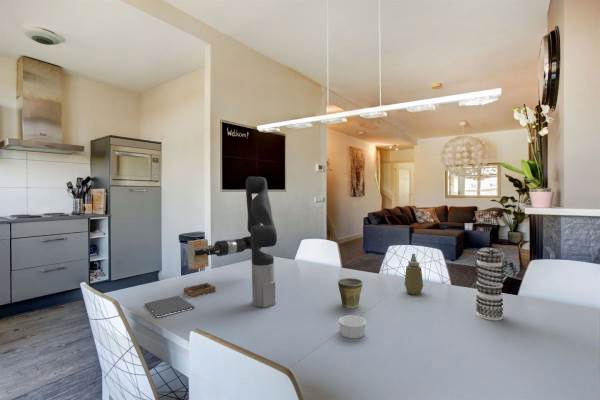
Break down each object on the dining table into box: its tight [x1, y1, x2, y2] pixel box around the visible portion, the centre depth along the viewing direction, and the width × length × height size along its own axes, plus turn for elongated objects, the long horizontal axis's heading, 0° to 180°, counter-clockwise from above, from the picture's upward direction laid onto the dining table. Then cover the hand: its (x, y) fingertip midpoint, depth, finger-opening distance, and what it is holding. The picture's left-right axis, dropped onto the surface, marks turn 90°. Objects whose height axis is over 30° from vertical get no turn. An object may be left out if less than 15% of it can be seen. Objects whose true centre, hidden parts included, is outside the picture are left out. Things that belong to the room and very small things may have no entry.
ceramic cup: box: [337, 277, 363, 310], centre depth 127 cm, size 13×10×10 cm
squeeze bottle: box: [404, 253, 424, 295], centre depth 140 cm, size 8×8×18 cm
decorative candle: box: [474, 247, 505, 321], centre depth 113 cm, size 9×9×25 cm
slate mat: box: [144, 295, 195, 316], centre depth 127 cm, size 18×14×1 cm
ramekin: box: [338, 315, 367, 339], centre depth 101 cm, size 9×9×4 cm
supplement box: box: [187, 238, 210, 270], centre depth 144 cm, size 8×5×13 cm, turn 141°
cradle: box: [183, 282, 216, 298], centre depth 145 cm, size 9×12×2 cm
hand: (193, 252), depth 142 cm, fingers closed on supplement box, 5 cm apart
